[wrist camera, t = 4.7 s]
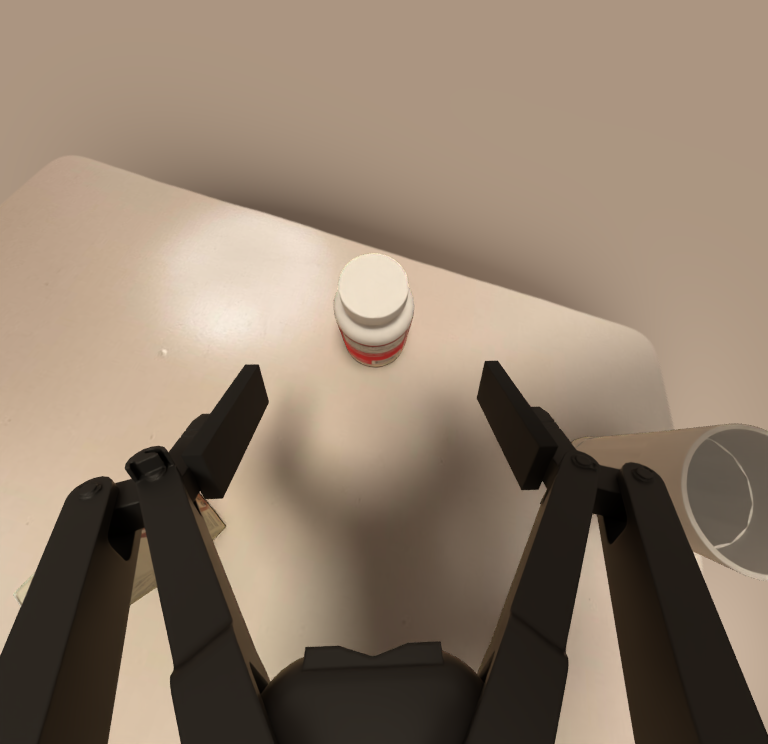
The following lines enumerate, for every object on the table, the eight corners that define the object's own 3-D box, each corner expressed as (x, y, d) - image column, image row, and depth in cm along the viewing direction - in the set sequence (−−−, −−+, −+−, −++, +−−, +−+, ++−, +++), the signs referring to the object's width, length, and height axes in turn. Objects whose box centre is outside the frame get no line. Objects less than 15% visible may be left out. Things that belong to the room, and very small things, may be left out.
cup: (538, 443, 28) (654, 449, 16) (611, 417, 28) (775, 405, 17) (574, 529, 26) (732, 606, 15) (651, 499, 27) (861, 550, 15)
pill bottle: (364, 300, 31) (356, 227, 20) (415, 328, 30) (436, 268, 19) (333, 350, 29) (307, 300, 19) (386, 379, 29) (391, 346, 18)
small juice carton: (197, 489, 26) (90, 521, 16) (227, 526, 26) (135, 583, 16) (149, 533, 25) (5, 595, 16) (179, 573, 25) (49, 663, 15)
